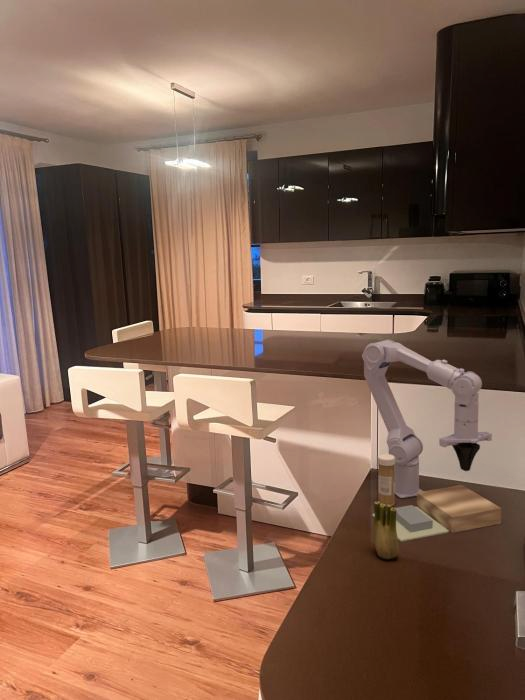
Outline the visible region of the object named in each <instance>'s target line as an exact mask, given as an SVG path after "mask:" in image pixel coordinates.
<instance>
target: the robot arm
mask: <svg viewBox="0 0 525 700" xmlns="http://www.w3.org/2000/svg"><path fill="white" fill-rule="evenodd" d="M361 358H362V360H363V376H364V379H365V381H366V383H367V385H368V388H369V391H370V393H371V395H372V397H373V400H374V402H375V404H376V406H377V409H378V412H379V413H380V416H381V419H382V421H383V423H384V426H385V428H386V429H387V432H388V434H387V438H386V444H387V447H388V454H390V455H393V456H394V457H395V465H394V476H395V496H397V497H399V498H400V499H405V498H411V497H417V492H423V491H424V490H423V489H421V488H420V457H419V456H420V455H421V454H422V453H423V450H424V448H423V447H424V445H423V442H422V440H421V439H420V438H419V437H418V436H417V435H416V434H415V432H414V430H413V429H412V428H411V427H409V426H408V425H407V423H406V422H405V419H404V416H403V415H402V413H401V412H402V411H401V410H400V407H399V405H398V403H397V400H396V398H395V395H394V394H393V392H392V391H393V390H392V389H391V386H390V385H389V382H388V380H387V378H386V373H387V371H388V368H389V366H390V365H391V364H392V363H394V362H395V363H396V362H401V363H402V364H403V363H404V364H406V365H408V366H411V367H412V368H415V369H417V370H420V371H422V372H424V373H426V375H427V378H428V380H431V381H433V382H435V383H437V384H438V385H441V386H443V387H445V388H447V389H449V390H451V392H452V393H453V394H454V417H453V418H454V420H453V422H454V423H453V424H454V425H453V427H454V429H453V433H451V434H449V435H447V436H444V437H440V438H438V439H439V446H440V447H442V448H447V447H449V446H452V448H453V450H454V452H455V453H456V457H457V459H458V463H459V467H460V470H463V471H465V472H468V471H469V472H470V470H471V467H472V464H473V461H474V459H475V457H476V455H477V453H478V451H480V449H481V445H480V444H478V443H479V442H483V441H484V442H486V441H487V442H490V441H492V439H493V438H492V436H493V434H492V433H491V432H488V431H479V404H480V403H479V392H480V390H481V389H482V387H483V381H482V378H481V377H480V376H479V375H478V374H476V373H475V372H474V371H465V369H464V368H458V367H455V366H453V365H451V364H449V363H448V360H446V359H442V360H441V359H436V360H433V361H432V360H430V359H428V358H426V357H424V356H423V355H421V354H419V353H417V352H416V351H414V350H411V349H410V348H407V346H404V345H403V344H402V343H400V342H397V341H396V342H395V341H394V340H392V339H384V340H381V341H377V342H371V343H369V344H367V345H366V346H365V348H364V349H363V352H362V354H361Z"/></svg>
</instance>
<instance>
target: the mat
mask: <svg viewBox="0 0 525 700" xmlns="http://www.w3.org/2000/svg"><path fill="white" fill-rule="evenodd" d="M414 507H415V508H417V509H418V510H419V511H421V512H422V513H423V514H425V515H426V516H427V517H429V518H430V519H431V520H433V528H431V529H426V530H421V531H416V532H410V531H409V530H407V529H406V528H405V527H404V526H403V525H401V524H400V523H399V522H398V521H397V520H396V531H397V537H398V542H401V543H402V542H407V541H412V540H418V539H422V538H427V537H433V536H437V535H443V534H448V533H450V531H449V530H447V529H446V528H445V527H443V526H442V525H441V524H439V523H438V522H437V521H435V520H434V519H433V518H431V517H430V516H429V515H427V514H426V513H425V512H423V511H422V510H420V509H419V508H418V507H417V506H414ZM371 516H372V517H373V518H375V513H372V514H371Z"/></svg>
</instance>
